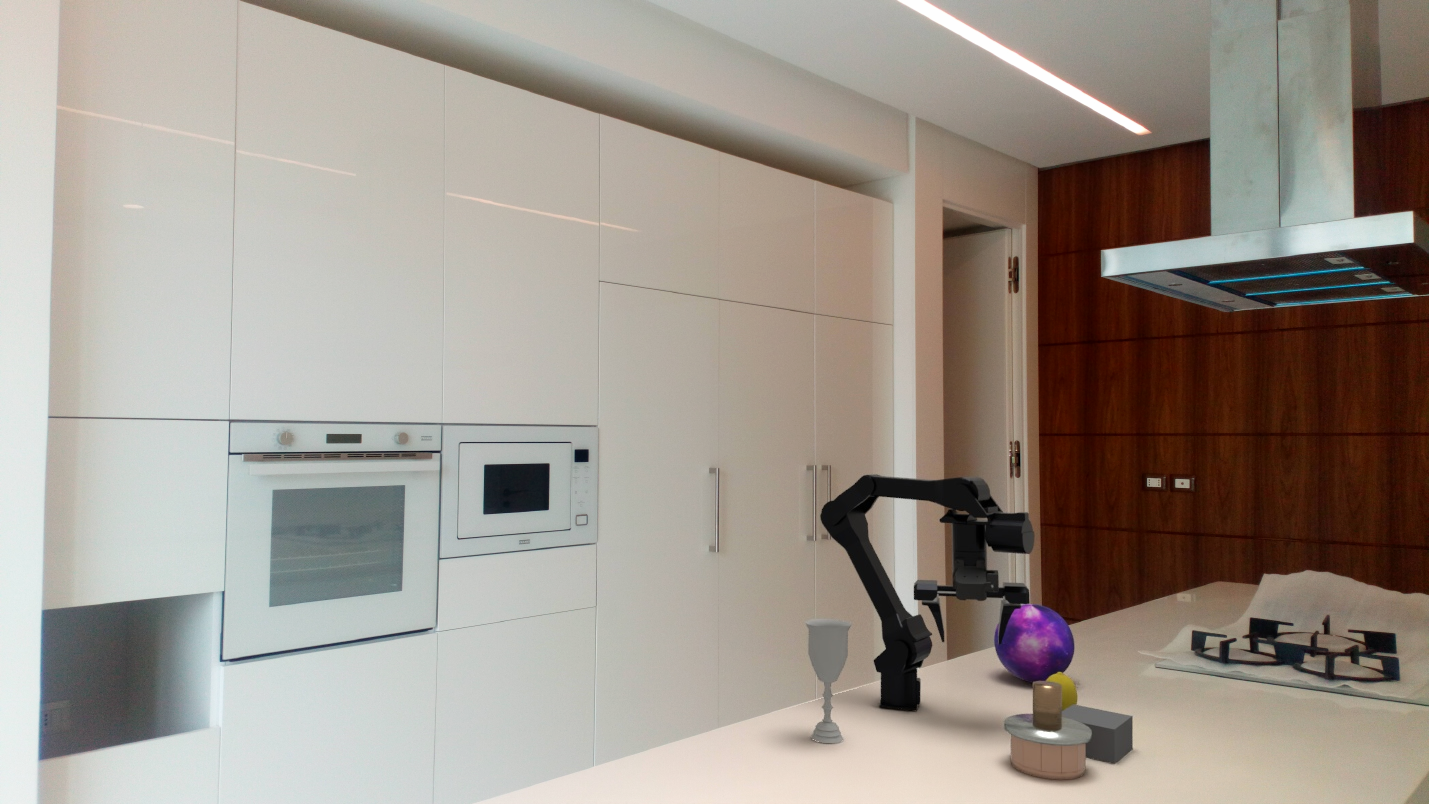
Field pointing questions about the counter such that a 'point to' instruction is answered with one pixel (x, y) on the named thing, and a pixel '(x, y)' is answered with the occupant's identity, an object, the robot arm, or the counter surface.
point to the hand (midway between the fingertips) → (971, 642)
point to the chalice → (827, 667)
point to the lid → (1047, 720)
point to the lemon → (1065, 689)
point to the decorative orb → (1035, 643)
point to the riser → (1104, 732)
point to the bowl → (1048, 759)
